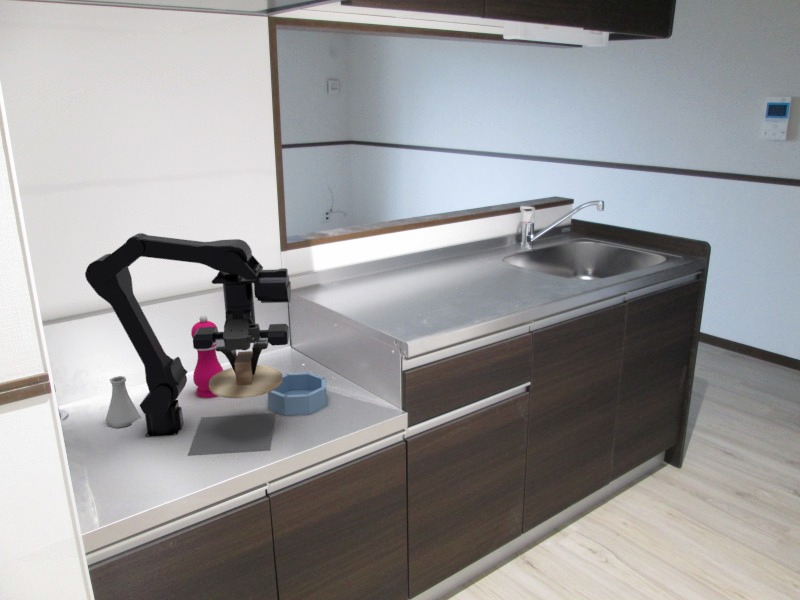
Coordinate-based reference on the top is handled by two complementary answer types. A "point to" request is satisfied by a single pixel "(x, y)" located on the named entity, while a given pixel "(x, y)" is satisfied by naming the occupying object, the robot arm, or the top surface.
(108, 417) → the flask
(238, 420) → the mat
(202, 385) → the pepper mill
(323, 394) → the bowl
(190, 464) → the top surface
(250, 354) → the lid
